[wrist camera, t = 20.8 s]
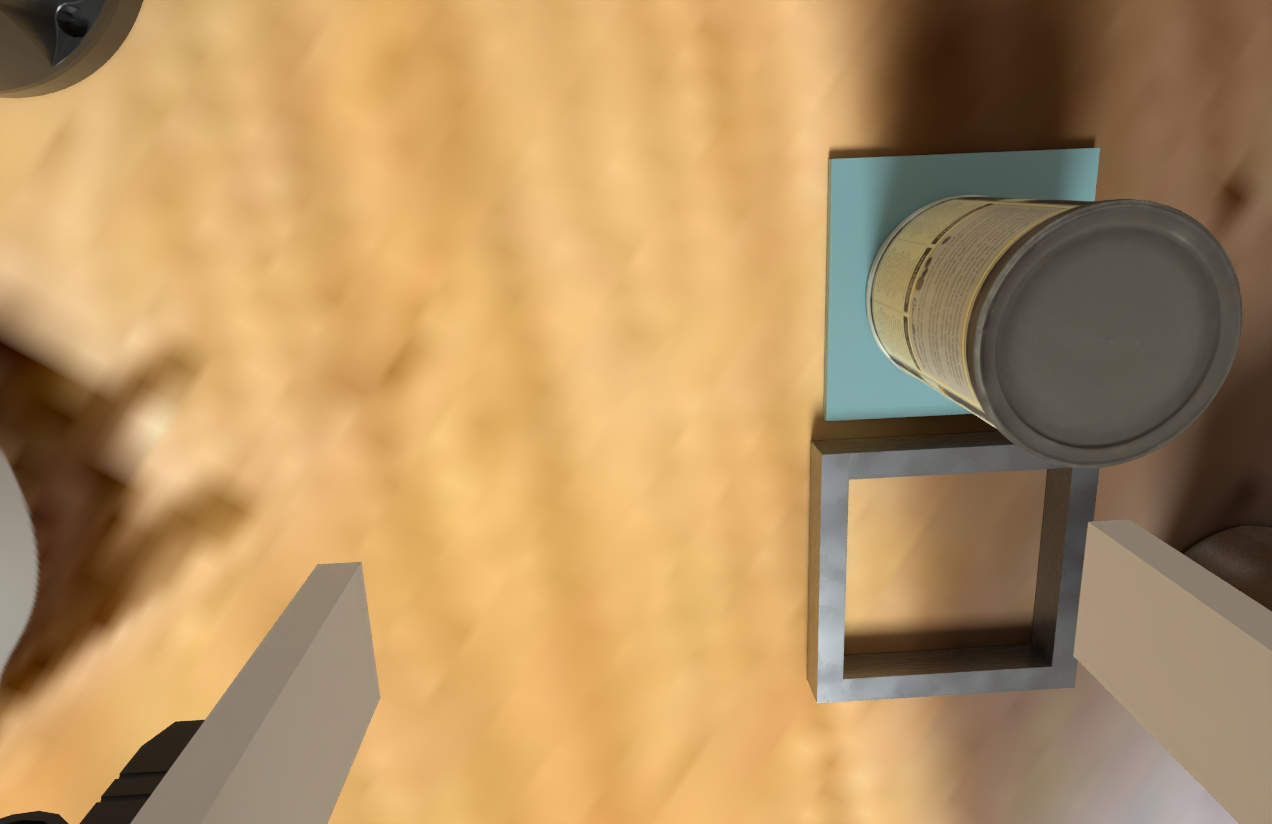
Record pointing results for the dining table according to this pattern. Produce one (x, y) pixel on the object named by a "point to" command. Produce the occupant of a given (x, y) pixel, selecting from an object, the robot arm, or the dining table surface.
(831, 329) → the mat
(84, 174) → the dining table surface
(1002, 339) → the coffee can
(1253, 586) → the plant pot
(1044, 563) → the socket frame
